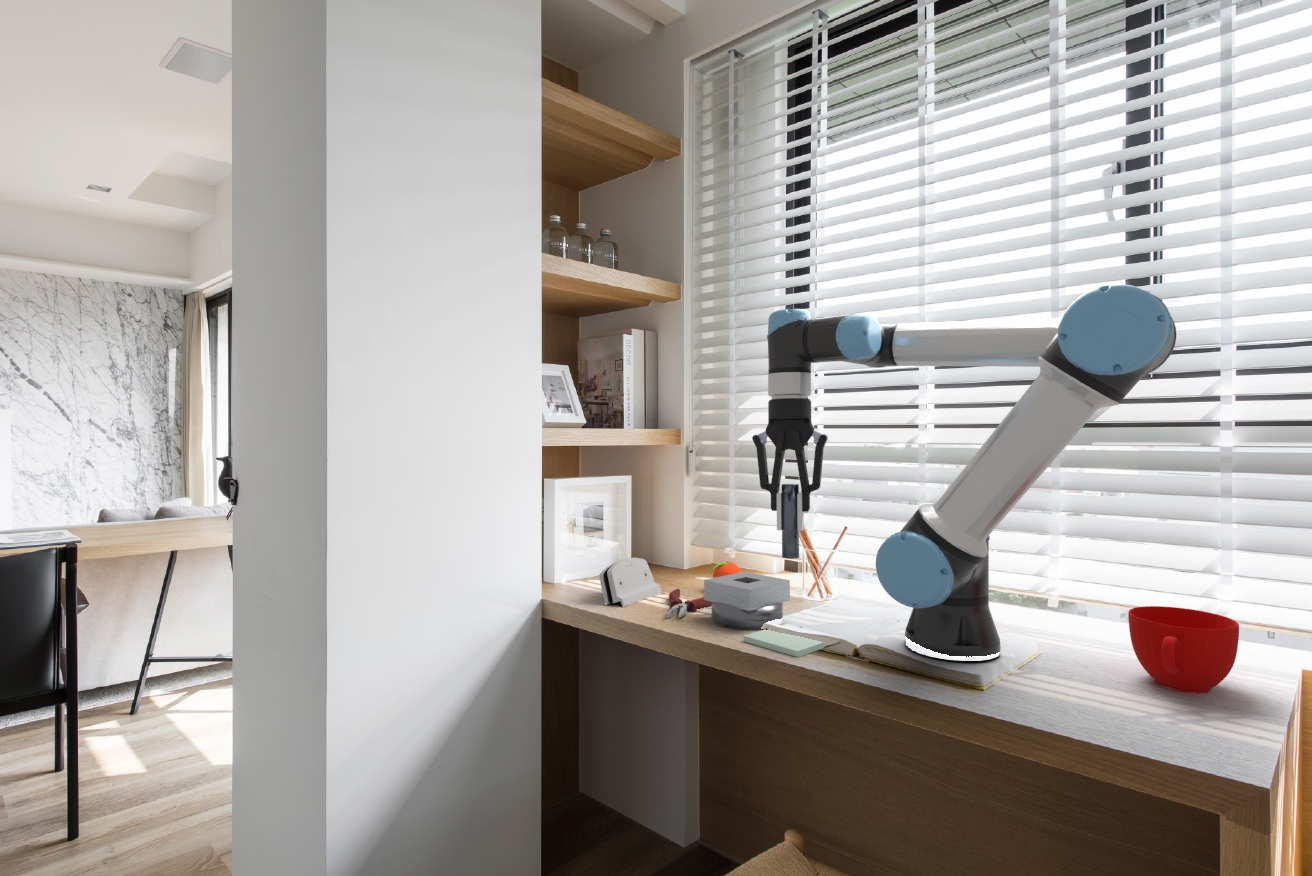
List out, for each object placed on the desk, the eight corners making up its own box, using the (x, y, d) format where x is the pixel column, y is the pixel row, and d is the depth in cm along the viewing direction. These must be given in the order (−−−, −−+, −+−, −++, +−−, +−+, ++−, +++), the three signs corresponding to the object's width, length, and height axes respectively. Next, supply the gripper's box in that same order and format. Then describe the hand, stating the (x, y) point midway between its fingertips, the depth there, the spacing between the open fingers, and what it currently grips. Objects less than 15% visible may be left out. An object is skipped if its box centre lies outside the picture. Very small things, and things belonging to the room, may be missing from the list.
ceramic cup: (1112, 692, 100) (1111, 622, 100) (1139, 664, 112) (1138, 601, 111) (1228, 718, 90) (1228, 641, 90) (1244, 684, 102) (1244, 616, 102)
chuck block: (797, 620, 139) (796, 580, 139) (750, 634, 130) (749, 591, 129) (744, 607, 149) (744, 570, 149) (697, 619, 140) (697, 579, 140)
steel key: (796, 560, 121) (796, 485, 121) (779, 559, 122) (778, 485, 122) (801, 554, 127) (801, 483, 127) (785, 553, 128) (784, 483, 128)
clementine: (719, 596, 159) (718, 565, 159) (703, 590, 166) (703, 560, 166) (748, 592, 163) (748, 562, 163) (732, 587, 169) (731, 557, 169)
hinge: (623, 607, 150) (610, 562, 152) (606, 612, 153) (593, 568, 154) (662, 592, 165) (650, 551, 166) (646, 596, 167) (634, 556, 169)
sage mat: (839, 642, 124) (839, 636, 124) (797, 657, 116) (797, 651, 116) (786, 628, 133) (786, 623, 133) (743, 641, 125) (743, 635, 125)
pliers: (645, 620, 141) (645, 607, 141) (674, 598, 160) (674, 587, 160) (699, 626, 138) (699, 612, 138) (723, 602, 157) (723, 590, 157)
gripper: (837, 397, 125) (838, 528, 126) (749, 399, 131) (750, 525, 131) (833, 395, 118) (834, 534, 118) (740, 398, 124) (741, 530, 124)
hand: (790, 529), depth 125 cm, fingers closed on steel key, 3 cm apart
